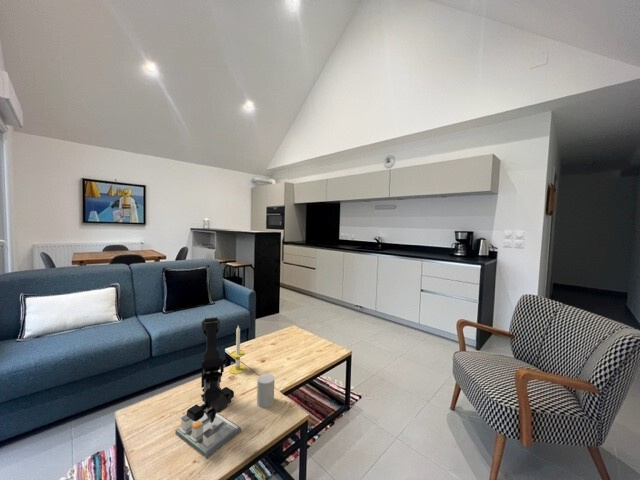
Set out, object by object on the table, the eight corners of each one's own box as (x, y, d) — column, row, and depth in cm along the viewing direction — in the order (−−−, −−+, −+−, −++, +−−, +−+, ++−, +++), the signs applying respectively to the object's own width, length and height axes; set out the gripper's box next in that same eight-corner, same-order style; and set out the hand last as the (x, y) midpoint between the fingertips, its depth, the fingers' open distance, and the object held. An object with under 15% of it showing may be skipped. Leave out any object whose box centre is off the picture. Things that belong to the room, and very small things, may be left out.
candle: (239, 363, 165) (239, 320, 164) (250, 368, 159) (250, 324, 158) (225, 370, 157) (225, 325, 155) (236, 376, 151) (236, 329, 150)
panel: (175, 433, 109) (175, 428, 109) (209, 411, 123) (209, 406, 122) (207, 458, 98) (207, 452, 98) (241, 431, 111) (241, 425, 111)
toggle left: (181, 427, 109) (181, 417, 109) (188, 422, 112) (188, 413, 111) (185, 430, 108) (185, 420, 107) (192, 425, 110) (192, 416, 110)
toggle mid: (191, 434, 105) (191, 424, 105) (198, 430, 108) (198, 420, 108) (196, 438, 104) (196, 428, 103) (203, 433, 106) (203, 423, 106)
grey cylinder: (270, 409, 125) (270, 384, 124) (254, 406, 127) (254, 382, 126) (276, 398, 133) (276, 375, 132) (261, 395, 135) (261, 372, 134)
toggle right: (202, 443, 101) (202, 432, 101) (209, 438, 104) (209, 427, 104) (207, 446, 100) (207, 436, 100) (214, 441, 102) (214, 431, 102)
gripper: (202, 406, 98) (202, 446, 99) (242, 382, 114) (242, 417, 115) (185, 395, 104) (185, 433, 105) (225, 373, 120) (225, 406, 121)
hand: (211, 422), depth 111 cm, fingers closed
